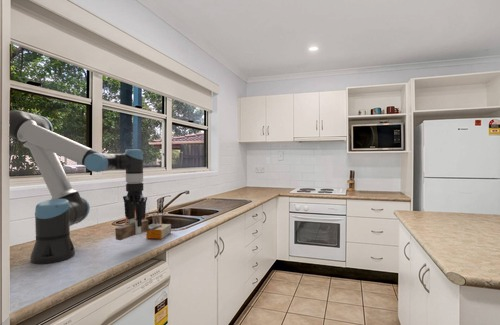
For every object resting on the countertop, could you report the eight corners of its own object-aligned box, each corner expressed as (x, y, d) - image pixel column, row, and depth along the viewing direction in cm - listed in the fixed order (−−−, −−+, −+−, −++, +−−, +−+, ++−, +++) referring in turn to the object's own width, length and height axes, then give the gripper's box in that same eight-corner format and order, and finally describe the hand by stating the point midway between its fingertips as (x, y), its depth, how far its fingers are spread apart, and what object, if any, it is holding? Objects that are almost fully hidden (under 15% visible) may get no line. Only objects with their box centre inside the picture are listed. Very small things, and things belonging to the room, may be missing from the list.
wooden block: (122, 240, 126) (122, 229, 125) (113, 239, 128) (112, 227, 128) (161, 226, 146) (161, 217, 146) (152, 225, 149) (152, 215, 148)
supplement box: (161, 239, 146) (171, 232, 159) (161, 230, 146) (171, 223, 159) (145, 238, 147) (157, 232, 160) (145, 229, 147) (157, 223, 160)
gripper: (153, 182, 134) (154, 233, 135) (129, 181, 142) (129, 229, 142) (140, 183, 128) (141, 237, 128) (115, 182, 135) (116, 232, 136)
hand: (135, 232), depth 135 cm, fingers closed on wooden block, 3 cm apart
